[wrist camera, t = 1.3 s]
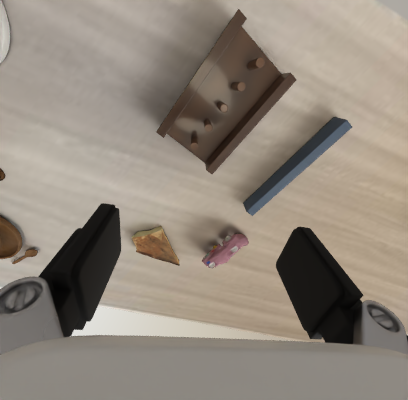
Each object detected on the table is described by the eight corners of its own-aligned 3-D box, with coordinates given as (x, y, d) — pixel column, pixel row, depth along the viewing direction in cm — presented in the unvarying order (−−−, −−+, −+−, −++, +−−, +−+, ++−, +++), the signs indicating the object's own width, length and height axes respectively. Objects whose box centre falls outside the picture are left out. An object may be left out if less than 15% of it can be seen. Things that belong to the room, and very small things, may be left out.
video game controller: (237, 223, 42) (232, 235, 36) (251, 239, 42) (248, 254, 35) (205, 248, 46) (195, 263, 39) (217, 263, 45) (210, 280, 39)
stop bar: (242, 202, 38) (246, 211, 35) (334, 116, 30) (347, 119, 28) (248, 207, 38) (252, 216, 36) (339, 123, 31) (352, 127, 28)
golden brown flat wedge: (180, 260, 45) (179, 266, 44) (149, 267, 46) (147, 273, 45) (163, 225, 40) (162, 230, 38) (129, 233, 41) (126, 239, 39)
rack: (160, 126, 30) (154, 134, 25) (232, 19, 24) (241, 4, 19) (210, 164, 33) (212, 178, 29) (283, 80, 27) (301, 79, 23)
